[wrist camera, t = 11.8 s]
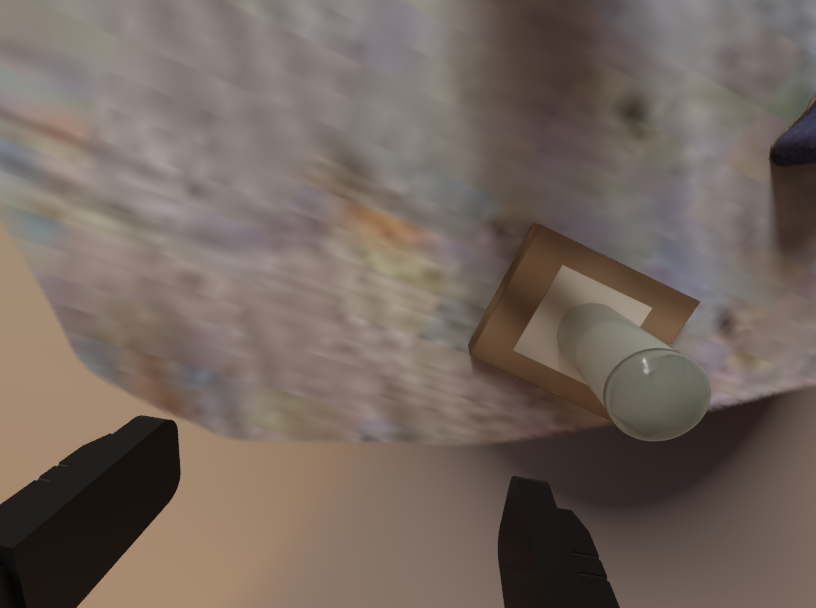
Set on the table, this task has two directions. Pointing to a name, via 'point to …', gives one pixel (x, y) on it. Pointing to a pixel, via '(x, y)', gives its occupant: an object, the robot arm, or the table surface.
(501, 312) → the pedestal
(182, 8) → the table surface
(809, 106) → the flask
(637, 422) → the canister
